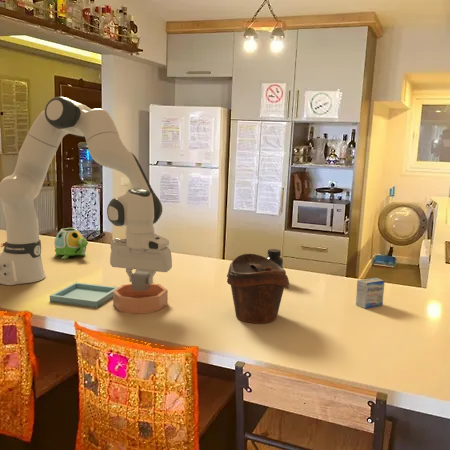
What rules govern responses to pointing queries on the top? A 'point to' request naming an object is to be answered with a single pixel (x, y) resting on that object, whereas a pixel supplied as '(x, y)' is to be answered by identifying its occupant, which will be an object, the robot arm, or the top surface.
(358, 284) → the medicine box
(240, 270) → the brown lidded bucket
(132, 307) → the terracotta bowl
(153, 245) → the robot arm
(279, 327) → the top surface
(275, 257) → the supplement bottle
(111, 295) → the parts tray
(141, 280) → the grey square block
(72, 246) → the turtle holder
